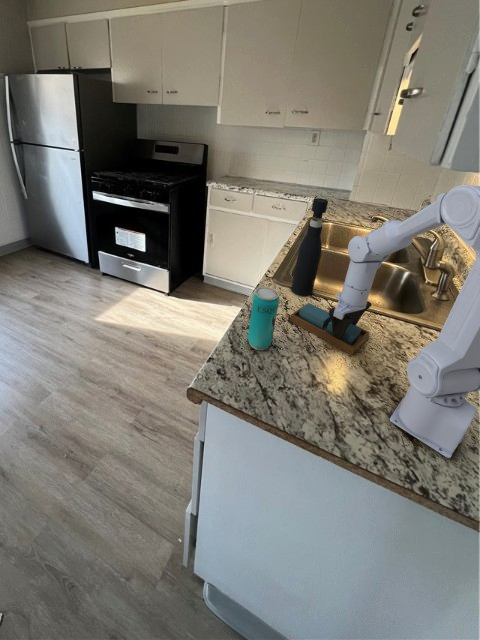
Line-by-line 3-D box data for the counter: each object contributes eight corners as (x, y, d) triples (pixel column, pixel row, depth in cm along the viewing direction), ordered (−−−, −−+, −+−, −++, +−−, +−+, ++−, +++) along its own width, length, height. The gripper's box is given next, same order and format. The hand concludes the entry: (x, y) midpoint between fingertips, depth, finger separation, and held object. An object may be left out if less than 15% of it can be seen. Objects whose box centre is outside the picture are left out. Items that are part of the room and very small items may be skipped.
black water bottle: (289, 285, 104) (306, 196, 91) (309, 287, 103) (329, 197, 90) (292, 295, 98) (311, 202, 85) (313, 297, 98) (335, 203, 85)
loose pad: (358, 338, 80) (361, 328, 78) (350, 345, 77) (353, 336, 76) (334, 325, 84) (336, 316, 83) (325, 332, 81) (328, 323, 80)
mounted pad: (330, 323, 85) (332, 314, 84) (321, 330, 82) (324, 320, 81) (306, 311, 90) (308, 302, 88) (298, 317, 87) (300, 308, 86)
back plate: (367, 338, 80) (370, 332, 80) (351, 355, 75) (354, 348, 74) (307, 308, 92) (308, 302, 91) (289, 320, 86) (290, 314, 86)
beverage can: (271, 354, 74) (280, 301, 68) (246, 350, 75) (253, 297, 69) (270, 338, 79) (279, 287, 73) (247, 335, 80) (254, 284, 74)
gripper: (354, 269, 81) (341, 312, 87) (326, 287, 72) (314, 334, 78) (383, 280, 76) (368, 325, 82) (357, 300, 68) (342, 349, 73)
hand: (344, 330), depth 80 cm, fingers open, 7 cm apart
